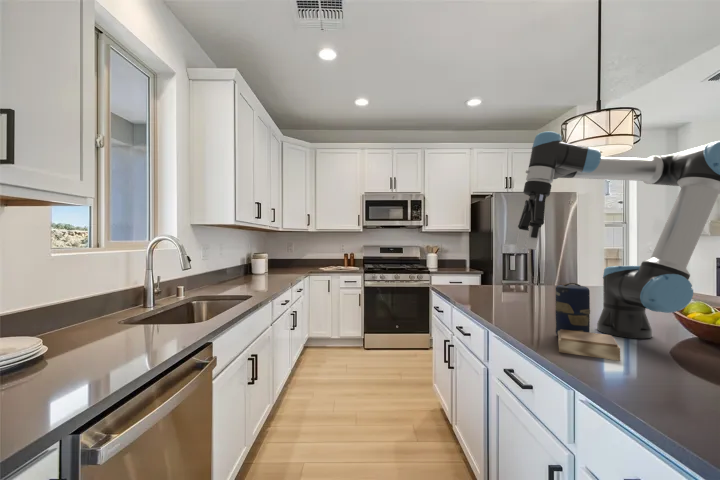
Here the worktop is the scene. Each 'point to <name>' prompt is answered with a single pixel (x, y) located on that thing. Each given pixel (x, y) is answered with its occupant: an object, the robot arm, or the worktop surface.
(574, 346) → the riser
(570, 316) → the canister
